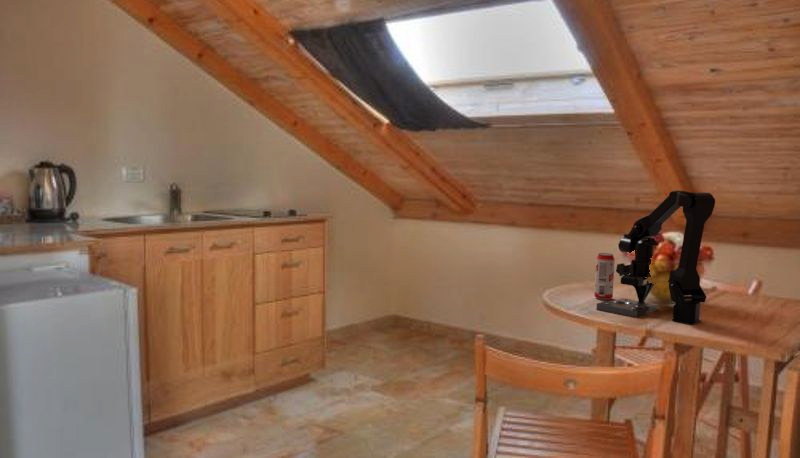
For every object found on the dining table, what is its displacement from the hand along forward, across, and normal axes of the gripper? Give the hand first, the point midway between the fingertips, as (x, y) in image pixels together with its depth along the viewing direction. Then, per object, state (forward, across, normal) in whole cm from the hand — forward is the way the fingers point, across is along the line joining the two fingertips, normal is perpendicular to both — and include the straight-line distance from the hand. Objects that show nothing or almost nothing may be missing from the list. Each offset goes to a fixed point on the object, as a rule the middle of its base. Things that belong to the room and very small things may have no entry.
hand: (641, 303), depth 214 cm
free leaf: (+1, +5, 0) cm, 5 cm away
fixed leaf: (+1, +13, 0) cm, 13 cm away
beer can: (+1, -1, -15) cm, 15 cm away
